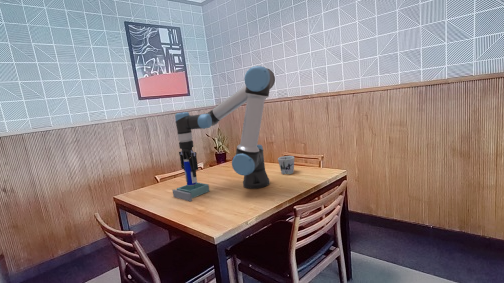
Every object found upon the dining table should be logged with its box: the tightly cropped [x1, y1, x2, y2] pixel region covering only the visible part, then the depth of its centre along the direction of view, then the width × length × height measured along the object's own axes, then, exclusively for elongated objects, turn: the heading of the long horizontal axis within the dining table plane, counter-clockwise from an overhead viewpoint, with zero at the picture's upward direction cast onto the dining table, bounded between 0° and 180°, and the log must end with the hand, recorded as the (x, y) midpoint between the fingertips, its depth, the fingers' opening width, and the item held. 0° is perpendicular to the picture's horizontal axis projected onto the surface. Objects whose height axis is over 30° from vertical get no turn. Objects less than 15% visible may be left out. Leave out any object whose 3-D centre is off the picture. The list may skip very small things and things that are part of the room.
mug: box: [277, 155, 295, 175], centre depth 176 cm, size 10×15×10 cm
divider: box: [172, 188, 193, 202], centre depth 148 cm, size 16×1×4 cm, turn 47°
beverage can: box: [184, 159, 196, 186], centre depth 154 cm, size 5×5×15 cm
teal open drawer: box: [176, 181, 210, 199], centre depth 155 cm, size 13×13×4 cm
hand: (191, 181), depth 155 cm, fingers closed on beverage can, 5 cm apart
